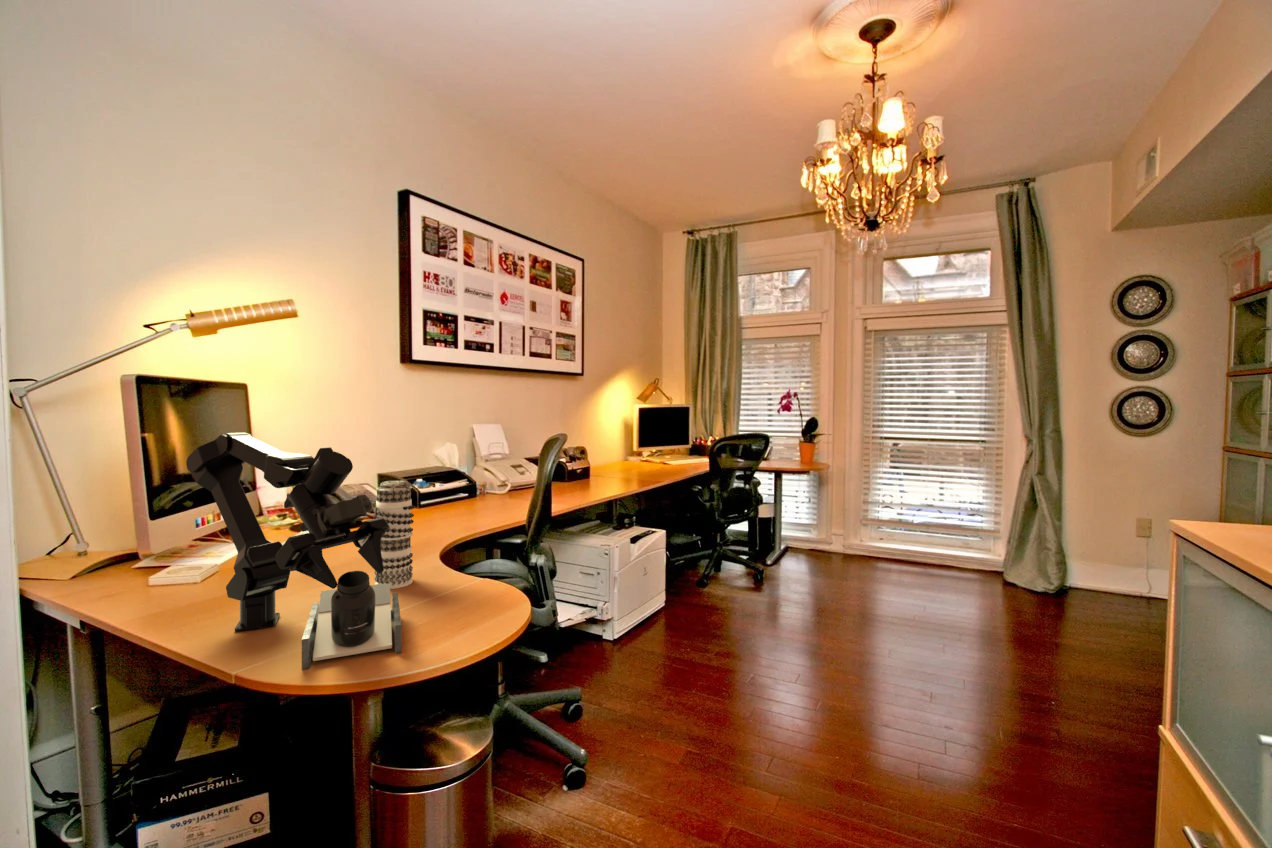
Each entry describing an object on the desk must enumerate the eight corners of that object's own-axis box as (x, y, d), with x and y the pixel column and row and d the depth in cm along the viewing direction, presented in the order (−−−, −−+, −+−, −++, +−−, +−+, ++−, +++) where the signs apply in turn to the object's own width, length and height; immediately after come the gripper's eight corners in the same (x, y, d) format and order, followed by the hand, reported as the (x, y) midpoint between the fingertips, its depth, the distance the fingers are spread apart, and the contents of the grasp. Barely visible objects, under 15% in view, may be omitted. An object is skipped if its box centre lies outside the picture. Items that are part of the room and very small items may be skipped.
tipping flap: (321, 603, 104) (321, 591, 103) (389, 595, 109) (389, 583, 108) (313, 670, 90) (312, 657, 89) (391, 657, 95) (392, 644, 94)
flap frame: (313, 628, 104) (313, 603, 104) (397, 616, 111) (397, 592, 110) (301, 669, 88) (301, 639, 88) (401, 652, 94) (401, 624, 94)
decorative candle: (405, 574, 138) (405, 478, 137) (420, 583, 131) (420, 482, 131) (367, 582, 131) (367, 481, 131) (381, 592, 125) (381, 485, 124)
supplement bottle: (354, 654, 91) (353, 597, 87) (322, 640, 93) (319, 583, 88) (383, 628, 97) (384, 574, 93) (352, 615, 99) (351, 562, 95)
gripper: (286, 488, 87) (332, 565, 83) (382, 476, 104) (425, 539, 100) (256, 531, 90) (299, 607, 86) (354, 512, 107) (394, 575, 103)
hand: (359, 579), depth 94 cm, fingers open, 9 cm apart
